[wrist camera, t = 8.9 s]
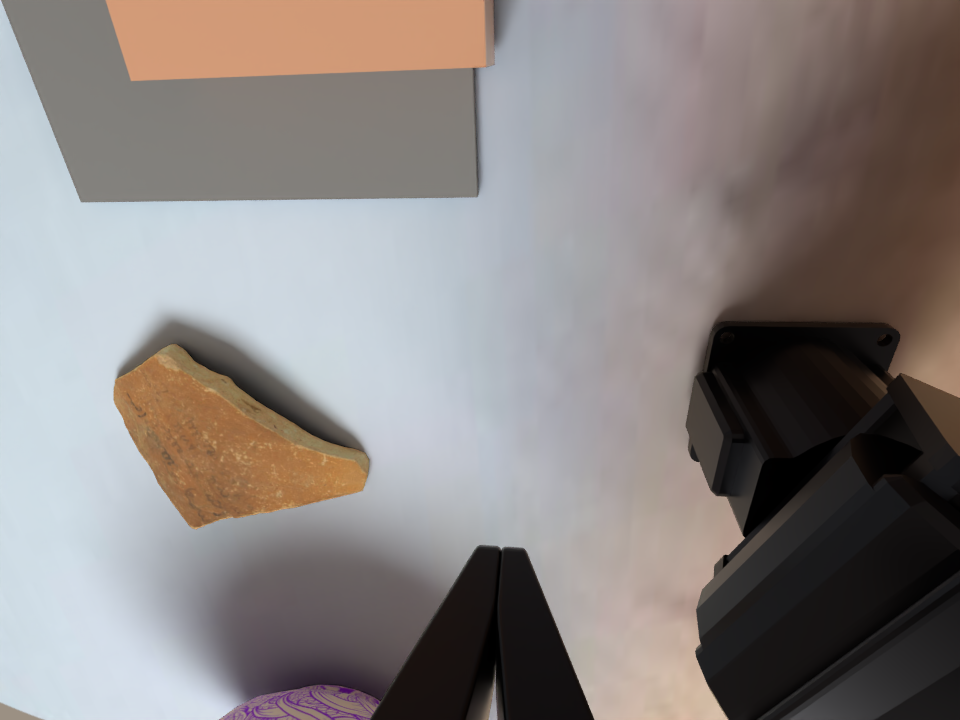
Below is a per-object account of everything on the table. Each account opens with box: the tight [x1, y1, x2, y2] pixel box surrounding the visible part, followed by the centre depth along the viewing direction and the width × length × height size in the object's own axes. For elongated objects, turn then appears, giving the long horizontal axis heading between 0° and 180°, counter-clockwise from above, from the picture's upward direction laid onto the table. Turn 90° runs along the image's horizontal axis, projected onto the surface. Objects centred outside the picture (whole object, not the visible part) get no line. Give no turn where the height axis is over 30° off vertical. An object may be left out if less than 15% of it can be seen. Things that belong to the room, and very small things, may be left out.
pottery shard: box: [114, 344, 369, 529], centre depth 25 cm, size 10×9×2 cm
